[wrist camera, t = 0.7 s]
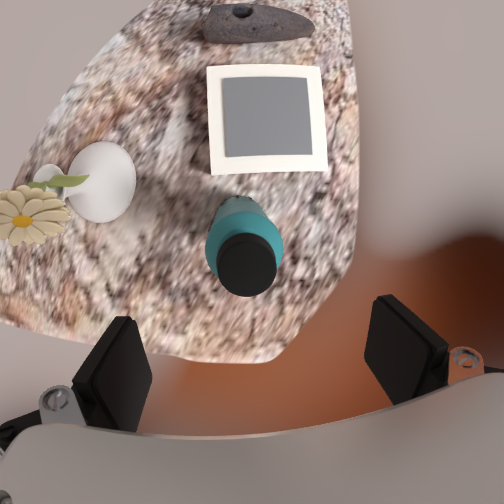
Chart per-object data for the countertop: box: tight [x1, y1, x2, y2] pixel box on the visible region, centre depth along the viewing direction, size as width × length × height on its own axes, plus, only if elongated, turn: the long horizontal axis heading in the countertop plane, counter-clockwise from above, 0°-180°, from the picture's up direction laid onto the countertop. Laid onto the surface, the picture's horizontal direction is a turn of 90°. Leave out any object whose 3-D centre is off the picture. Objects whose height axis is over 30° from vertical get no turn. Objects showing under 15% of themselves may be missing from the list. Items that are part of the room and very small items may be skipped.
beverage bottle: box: [205, 195, 283, 297], centre depth 27 cm, size 6×7×20 cm
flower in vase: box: [0, 141, 136, 246], centre depth 21 cm, size 13×11×25 cm
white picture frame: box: [207, 64, 328, 176], centre depth 31 cm, size 14×14×4 cm
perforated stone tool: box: [201, 3, 315, 43], centre depth 25 cm, size 15×5×7 cm, turn 91°
